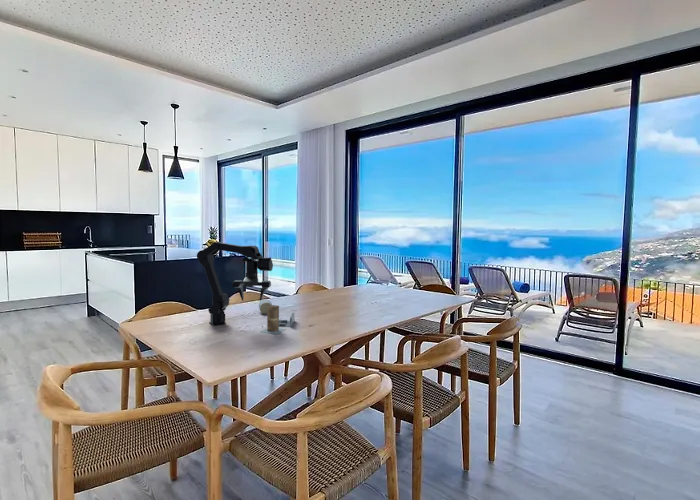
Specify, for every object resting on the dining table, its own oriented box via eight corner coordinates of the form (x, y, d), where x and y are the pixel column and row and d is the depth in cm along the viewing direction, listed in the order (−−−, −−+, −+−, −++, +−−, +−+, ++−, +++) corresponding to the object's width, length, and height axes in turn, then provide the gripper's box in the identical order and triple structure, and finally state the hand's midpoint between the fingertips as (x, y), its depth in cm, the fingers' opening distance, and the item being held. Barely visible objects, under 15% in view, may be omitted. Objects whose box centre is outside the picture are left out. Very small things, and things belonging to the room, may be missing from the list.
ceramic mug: (259, 315, 212) (260, 301, 212) (258, 311, 220) (258, 299, 220) (278, 314, 216) (278, 301, 215) (276, 311, 223) (276, 298, 223)
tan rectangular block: (267, 330, 180) (267, 306, 179) (271, 328, 184) (271, 304, 183) (274, 331, 178) (274, 307, 177) (278, 329, 182) (279, 305, 181)
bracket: (274, 327, 187) (274, 317, 187) (278, 321, 199) (278, 312, 199) (291, 327, 188) (291, 318, 187) (294, 321, 200) (294, 312, 199)
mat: (259, 332, 178) (259, 331, 178) (270, 327, 187) (270, 326, 187) (276, 334, 175) (276, 333, 175) (285, 330, 184) (285, 329, 184)
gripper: (228, 272, 180) (228, 303, 181) (267, 272, 181) (267, 304, 182) (235, 269, 191) (235, 299, 192) (271, 269, 192) (271, 299, 193)
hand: (251, 300), depth 190 cm, fingers open, 9 cm apart
